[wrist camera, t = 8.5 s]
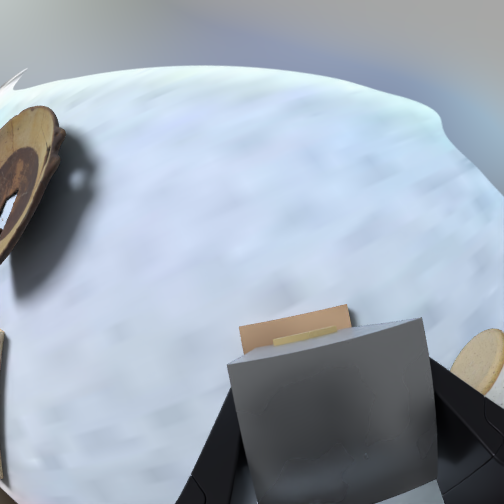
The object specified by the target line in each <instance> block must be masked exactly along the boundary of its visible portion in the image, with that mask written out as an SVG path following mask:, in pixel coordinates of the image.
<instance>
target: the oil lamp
mask: <svg viewBox="0 0 504 504" xmlns="http://www.w3.org/2000/svg"><path fill="white" fill-rule="evenodd" d="M65 136H66V132H65V130H64V129H62V128H59V123H58V119H57V117H56V115H55V113H54V112H53V111H52V110H51V109H50V108H48V107H45V106H35V107H30V108H27V109H25V110H23V111H22V112H21V113H20V114H19V115H16V116H14V117H13V118H12V119H10V120H9V121H8V122H7V123H6V124H5V125H4V126H3V127H2V128H1V129H0V212H1V210H2V208H3V205H4V203H5V202H6V200H7V199H8V198H9V197H11V196H12V195H13V194H14V193H16V192H17V191H18V190H19V191H18V193H17V197H16V199H15V202H14V203H13V207H12V210H11V212H10V215H9V217H8V219H7V222H6V224H5V226H4V229H3V230H2V229H1V228H0V235H1V236H0V265H1V264H2V262H3V261H4V260H5V259H6V258H7V256H8V255H9V254H10V252H11V251H12V249H13V248H14V246H15V245H16V244H17V242H18V240H19V239H20V237H21V235H22V234H23V232H24V230H25V228H26V227H27V225H28V223H29V221H30V220H31V218H32V216H33V214H34V212H35V210H36V209H37V207H38V205H39V203H40V201H41V199H42V196H43V194H44V192H45V189H46V187H47V185H48V183H49V181H50V179H51V177H52V175H53V174H54V173H55V171H56V170H57V168H58V166H59V164H60V161H61V158H60V156H59V155H58V151H59V148H60V146H61V144H62V142H63V141H64V139H65ZM2 221H3V219H2Z"/></svg>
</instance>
